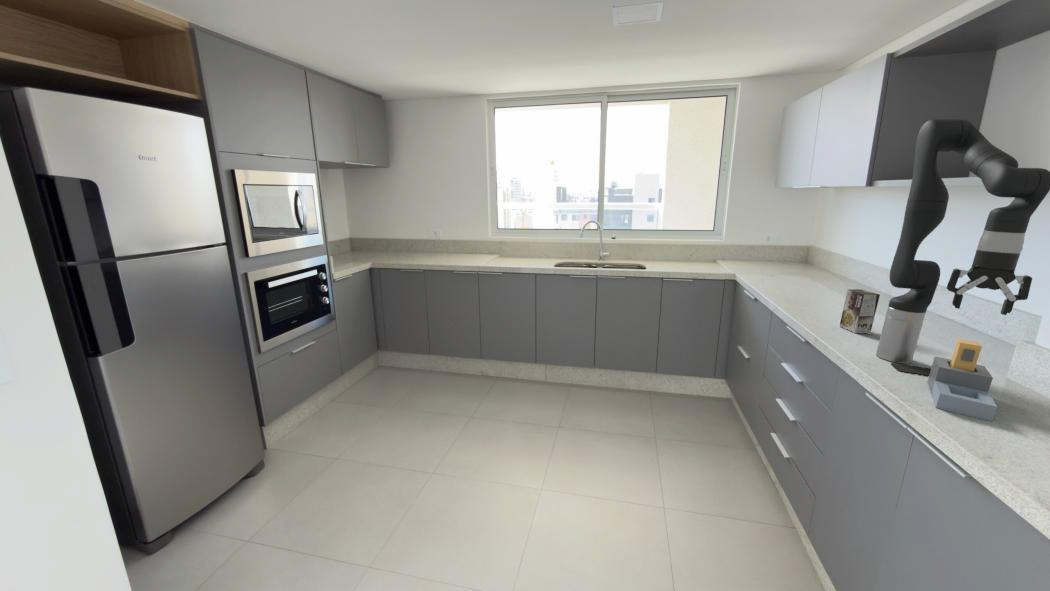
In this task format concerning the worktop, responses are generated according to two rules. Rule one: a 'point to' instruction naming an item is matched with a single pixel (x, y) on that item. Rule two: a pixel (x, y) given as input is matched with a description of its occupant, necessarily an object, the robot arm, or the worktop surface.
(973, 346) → the plug
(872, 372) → the worktop surface
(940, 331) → the worktop surface
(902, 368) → the phone
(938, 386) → the socket block
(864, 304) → the coffee box
